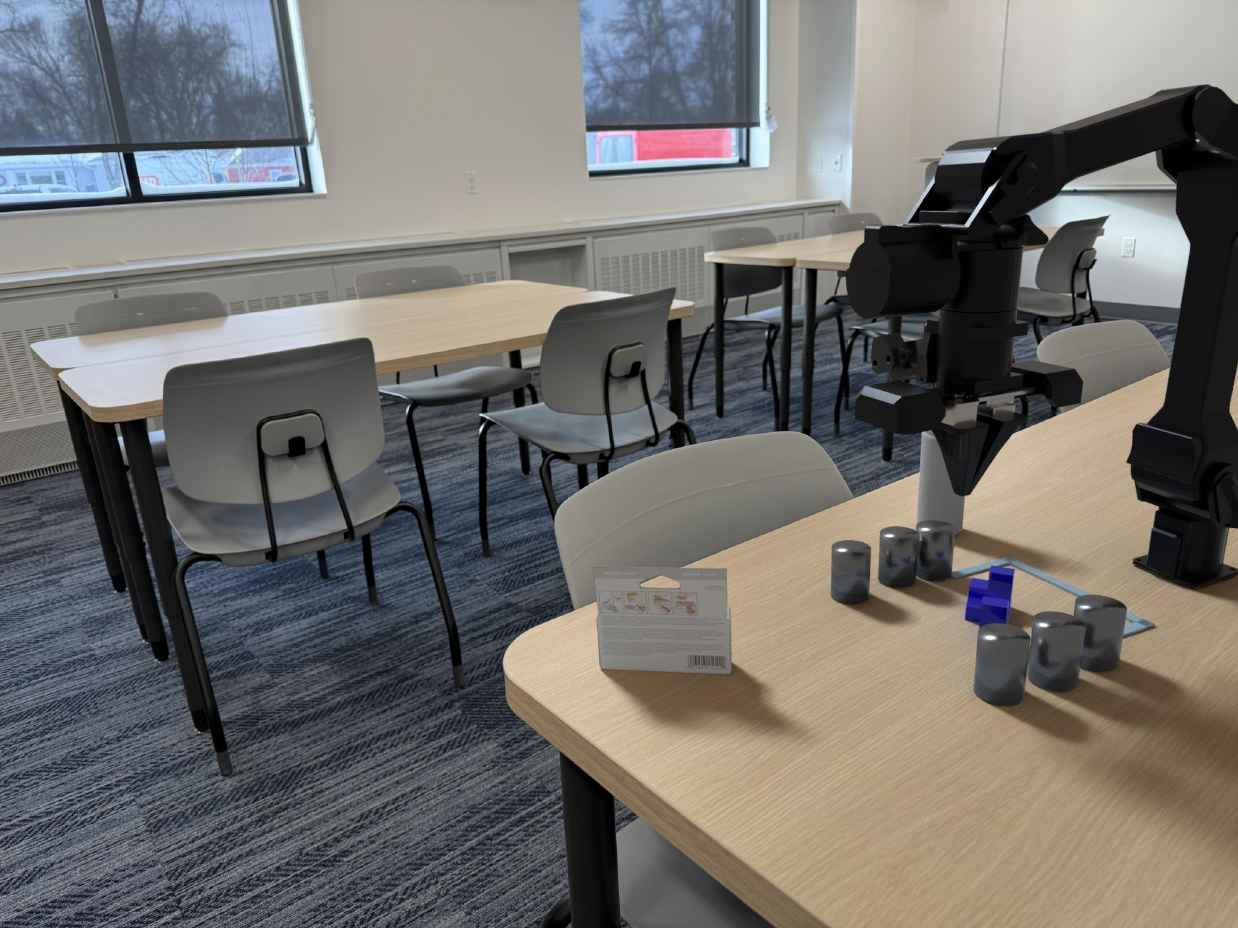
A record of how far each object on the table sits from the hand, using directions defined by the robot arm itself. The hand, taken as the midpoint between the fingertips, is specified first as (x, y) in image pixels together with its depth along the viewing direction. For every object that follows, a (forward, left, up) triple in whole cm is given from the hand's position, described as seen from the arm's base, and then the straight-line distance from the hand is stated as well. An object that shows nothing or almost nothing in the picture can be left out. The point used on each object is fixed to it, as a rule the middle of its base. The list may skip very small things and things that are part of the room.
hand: (961, 494), depth 72 cm
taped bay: (-11, 0, -12) cm, 16 cm away
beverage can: (-14, -17, -13) cm, 25 cm away
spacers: (-1, 0, -12) cm, 12 cm away
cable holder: (-3, +1, -13) cm, 13 cm away
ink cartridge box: (+25, -6, -13) cm, 29 cm away
